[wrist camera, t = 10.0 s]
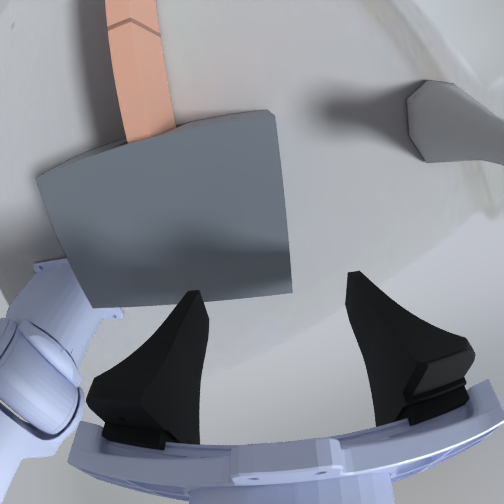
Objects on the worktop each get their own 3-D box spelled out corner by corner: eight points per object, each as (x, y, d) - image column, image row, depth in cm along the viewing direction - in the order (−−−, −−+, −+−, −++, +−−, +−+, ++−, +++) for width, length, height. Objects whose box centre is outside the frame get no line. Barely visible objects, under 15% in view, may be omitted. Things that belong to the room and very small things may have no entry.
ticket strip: (162, 156, 19) (136, 177, 14) (133, -30, 10) (103, -53, 6) (181, 152, 18) (159, 171, 14) (151, -36, 10) (125, -63, 6)
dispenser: (124, 257, 23) (92, 308, 18) (88, 150, 18) (35, 178, 12) (282, 237, 22) (292, 292, 17) (267, 109, 17) (274, 115, 11)
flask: (391, 91, 16) (483, 103, 7) (455, 71, 14) (546, 83, 6) (419, 175, 19) (498, 233, 11) (476, 148, 17) (556, 190, 9)
